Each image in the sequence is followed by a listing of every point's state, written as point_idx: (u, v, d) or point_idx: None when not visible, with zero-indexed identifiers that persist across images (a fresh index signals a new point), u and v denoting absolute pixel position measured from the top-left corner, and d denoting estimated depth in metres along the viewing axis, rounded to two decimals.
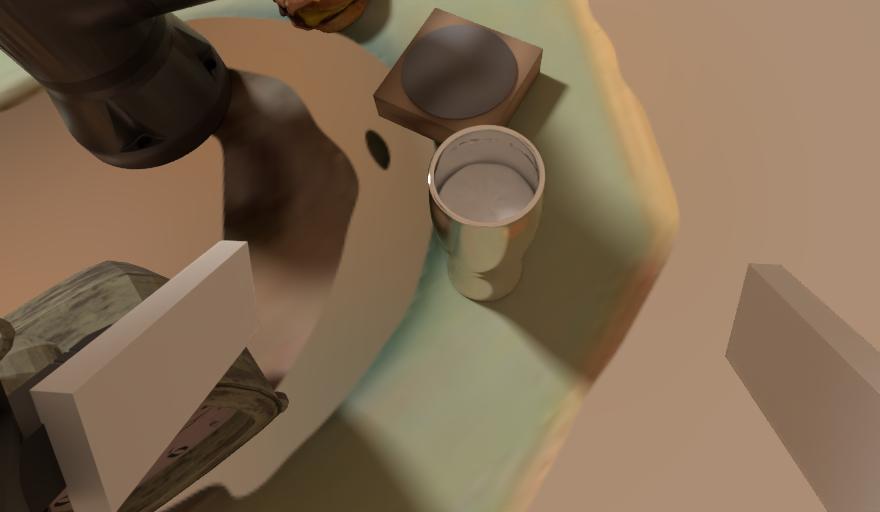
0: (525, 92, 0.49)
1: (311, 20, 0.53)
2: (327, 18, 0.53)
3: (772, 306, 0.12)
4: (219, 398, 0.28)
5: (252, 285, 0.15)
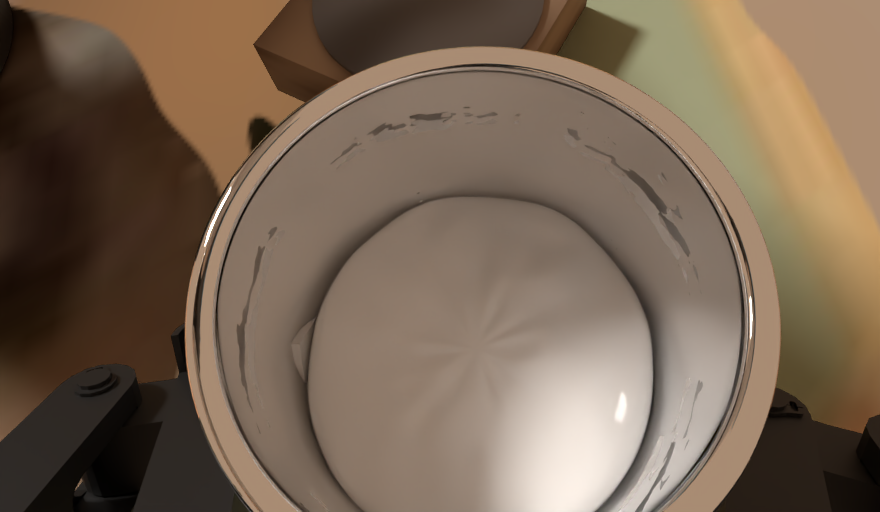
0: (560, 42, 0.25)
1: None
2: None
3: None
4: None
5: None
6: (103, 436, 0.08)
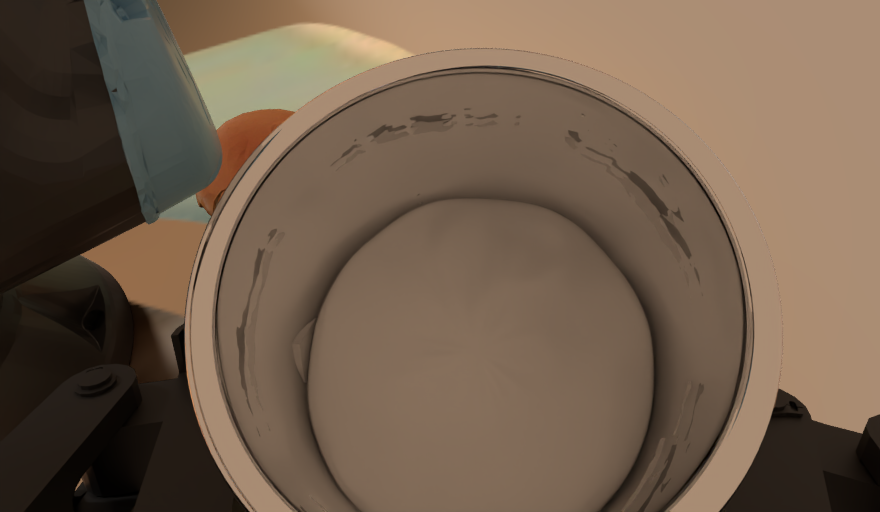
0: None
1: None
2: None
3: None
4: None
5: None
6: (103, 436, 0.08)
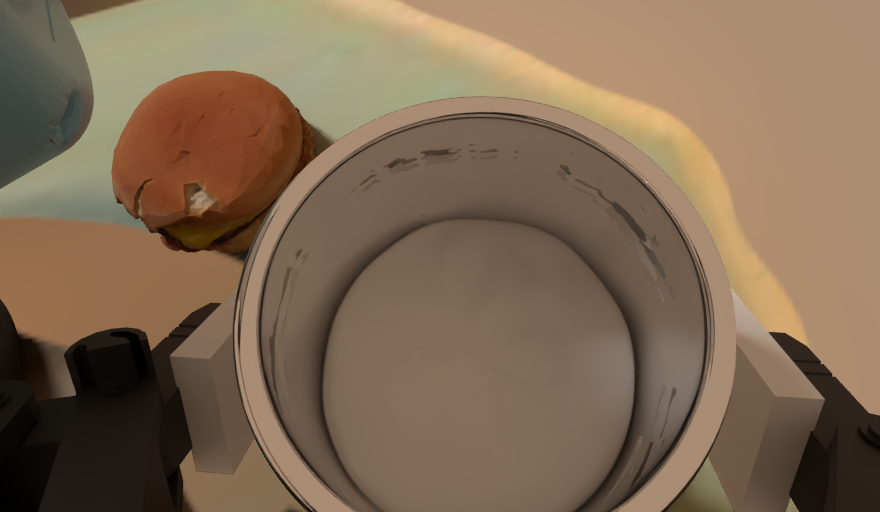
0: None
1: (193, 241, 0.26)
2: (227, 236, 0.27)
3: None
4: None
5: None
6: None
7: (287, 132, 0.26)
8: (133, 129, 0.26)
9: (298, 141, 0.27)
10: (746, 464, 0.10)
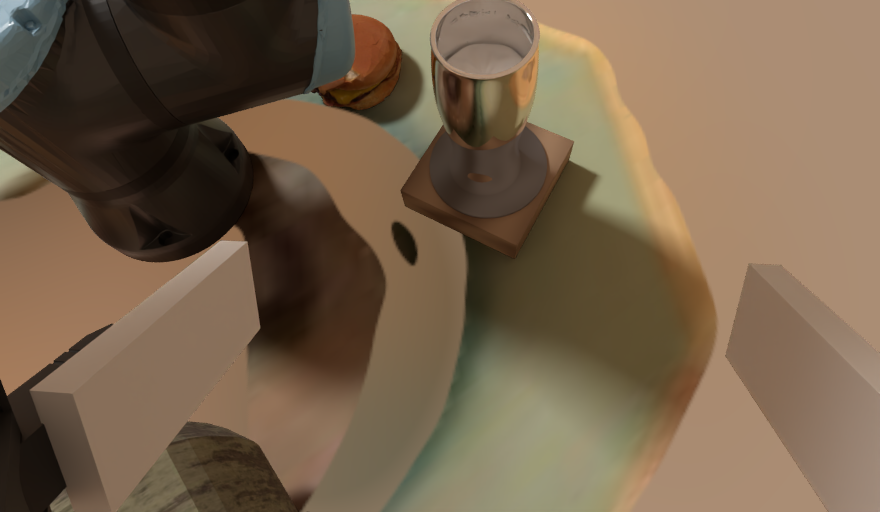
0: (555, 183, 0.48)
1: (342, 99, 0.52)
2: (359, 97, 0.52)
3: (772, 306, 0.12)
4: None
5: (252, 285, 0.15)
6: None
7: (391, 44, 0.52)
8: None
9: (395, 50, 0.52)
10: None
